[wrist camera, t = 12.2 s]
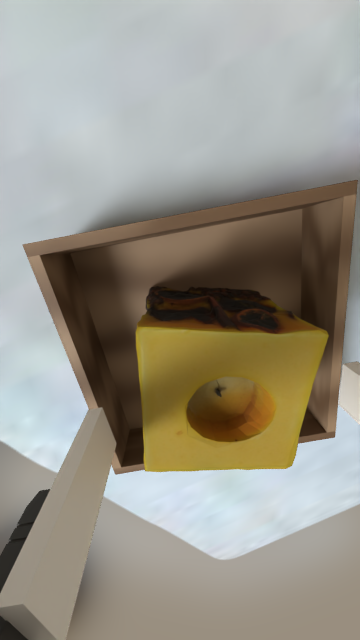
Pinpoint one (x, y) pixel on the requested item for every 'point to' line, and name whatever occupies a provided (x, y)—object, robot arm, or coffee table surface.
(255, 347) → the candle
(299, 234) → the crate
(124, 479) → the coffee table surface
